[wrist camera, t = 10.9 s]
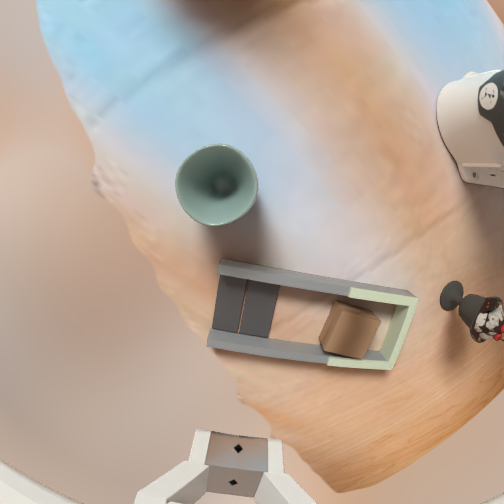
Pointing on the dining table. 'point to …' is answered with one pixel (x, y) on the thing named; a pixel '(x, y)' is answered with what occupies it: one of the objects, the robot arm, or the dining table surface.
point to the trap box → (263, 304)
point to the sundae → (475, 312)
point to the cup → (216, 185)
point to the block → (348, 330)
